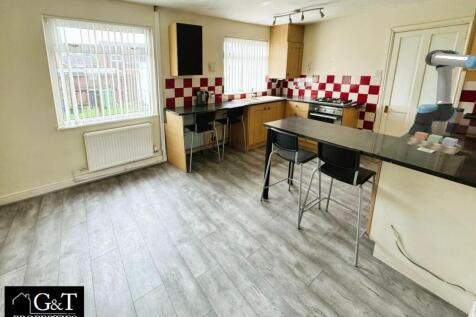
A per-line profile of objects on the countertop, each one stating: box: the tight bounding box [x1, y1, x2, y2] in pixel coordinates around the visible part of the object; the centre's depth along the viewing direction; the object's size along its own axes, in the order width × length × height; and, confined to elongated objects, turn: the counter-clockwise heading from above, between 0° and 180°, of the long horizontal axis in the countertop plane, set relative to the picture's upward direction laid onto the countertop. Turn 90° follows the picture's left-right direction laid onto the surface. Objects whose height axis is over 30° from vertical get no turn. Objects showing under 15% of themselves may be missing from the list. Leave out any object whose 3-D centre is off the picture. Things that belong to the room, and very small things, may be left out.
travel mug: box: [444, 107, 466, 134], centre depth 203 cm, size 8×8×20 cm
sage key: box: [427, 133, 444, 144], centre depth 164 cm, size 6×6×5 cm
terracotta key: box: [413, 132, 429, 141], centre depth 170 cm, size 6×6×5 cm
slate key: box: [442, 136, 459, 147], centre depth 158 cm, size 6×6×5 cm
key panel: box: [406, 135, 462, 156], centre depth 165 cm, size 26×12×4 cm, turn 37°
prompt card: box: [416, 147, 435, 154], centre depth 159 cm, size 8×6×1 cm
